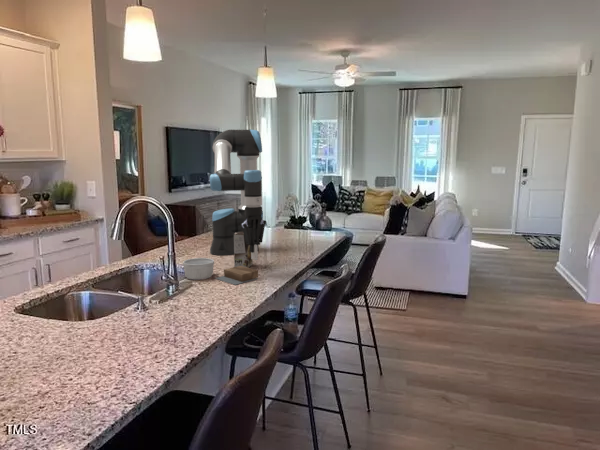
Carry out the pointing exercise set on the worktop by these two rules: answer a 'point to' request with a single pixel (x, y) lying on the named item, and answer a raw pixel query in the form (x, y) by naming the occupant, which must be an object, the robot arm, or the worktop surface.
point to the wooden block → (241, 273)
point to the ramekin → (198, 268)
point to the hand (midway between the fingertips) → (254, 259)
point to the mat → (232, 281)
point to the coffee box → (241, 251)
